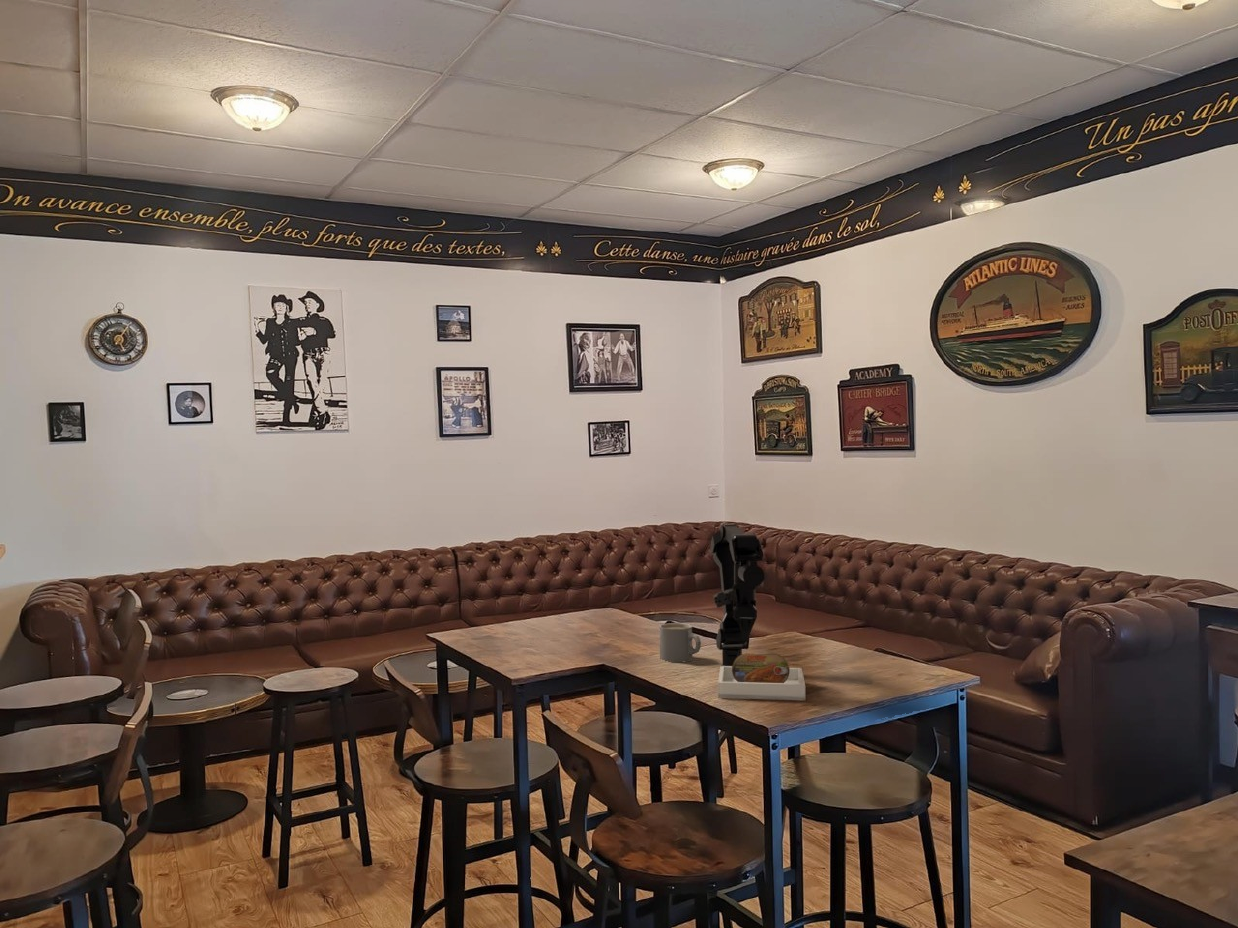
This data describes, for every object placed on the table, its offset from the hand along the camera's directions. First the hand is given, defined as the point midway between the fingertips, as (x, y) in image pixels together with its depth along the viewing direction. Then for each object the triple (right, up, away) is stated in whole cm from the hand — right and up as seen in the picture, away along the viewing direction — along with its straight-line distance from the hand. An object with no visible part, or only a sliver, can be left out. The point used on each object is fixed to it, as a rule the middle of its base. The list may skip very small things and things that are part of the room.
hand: (744, 637), depth 246 cm
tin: (+3, -12, -7) cm, 14 cm away
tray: (+3, -13, -7) cm, 15 cm away
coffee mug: (-16, -13, +29) cm, 35 cm away
